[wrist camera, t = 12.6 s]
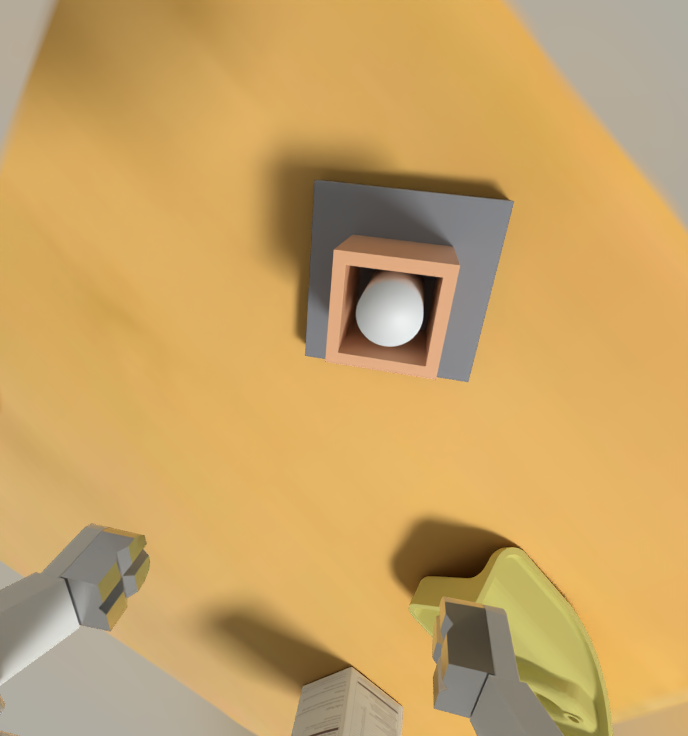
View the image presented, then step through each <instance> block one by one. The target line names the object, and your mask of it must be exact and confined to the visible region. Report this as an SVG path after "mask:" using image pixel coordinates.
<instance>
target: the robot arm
mask: <svg viewBox="0 0 688 736" xmlns="http://www.w3.org/2000/svg"><path fill="white" fill-rule="evenodd" d="M146 544H147V543H146V539H145V535H141V534H136V533H132V532H127V531H123V530H119V529H114V528H110V527H106V526H101V525H96V524H90V525H88V526H86V527H85V528H84V529H83V530H82V531H81V532H80V533H79V534H78V535H77V536H76V537H75V538H74V539H73V540H72V541H71V542H70V543H69V544H68V545H67V546H66V547H65V549H64V550H63V551H62V552H61V553H60V554H59V555H58V556H57V557H56V558H55V559H54V560H53V561H52V562H51V563H50V564H49V565H48V566H47V567H46V568H45V569H44V570H43V572H42V573H37V572H35V573H33V574H31V575H29V576H27V577H25V578H23V579H21V580H20V581H17V582H15V583H14V584H11V585H10V586H7V587H5V588H4V589H2V590H0V685H1V684H3V683H4V682H6V681H7V680H8V679H10V678H11V677H12V676H14V675H15V674H17V673H18V672H19V671H20V670H22V669H23V668H25V667H26V666H28V665H29V664H30V663H32V662H33V661H34V660H36V659H37V658H39V657H40V656H41V655H43V654H44V653H45V652H47V651H48V650H50V649H51V648H52V647H53V646H55V645H56V644H58V643H59V642H60V641H62V640H63V639H64V638H66V637H67V636H69V635H70V634H72V633H73V632H74V631H76V630H77V629H78V628H80V625H82V626H87V627H92V628H97V629H102V630H106V631H111V630H112V629H113V627H114V626H115V624H116V623H117V621H118V620H119V618H120V617H121V615H122V614H123V613H124V611H125V610H126V608H127V598H128V597H130V596H131V595H133V594H134V593H136V592H138V590H139V589H140V587H141V586H142V584H143V583H144V581H145V579H146V576H147V573H148V571H149V564H150V560H149V555H148V554H147V553H146V552H145V551H144V549H143V548H144V547H145V545H146ZM439 607H440V615H438V616H436V620H435V624H434V630H433V642H432V657H433V659H434V661H435V663H436V664H437V665H436V669H435V672H434V675H433V695H434V709H438V710H441V711H445V712H449V713H453V714H456V715H460V716H464V717H467V718H471V719H470V722H471V724H472V726H473V728H474V730H475V732H476V734H477V736H564V735H563V733H562V732H561V731H560V729H559V728H558V726H557V725H556V724H555V722H554V721H553V719H552V718H551V716H550V715H549V714H548V712H547V711H546V709H545V708H544V707H543V705H542V704H541V702H540V701H539V700H538V698H537V697H536V695H535V694H534V693H533V691H532V690H531V688H530V687H529V686H528V684H527V683H525V682H521V681H520V678H519V673H518V668H517V663H516V658H515V653H514V648H513V643H512V637H511V632H510V627H509V622H508V617H507V613H506V612H505V610H504V609H503V608H498V607H493V606H487V605H482V604H481V603H476V602H470V601H465V600H460V599H455V598H449V597H444V596H443V597H442V599H441V602H440V605H439ZM4 706H5V703H4V701H3V699H2V697H1V695H0V715H1V714H2V712H3V711H4ZM0 736H18V735H14V734H11V733H7V732H3V731H0Z"/></svg>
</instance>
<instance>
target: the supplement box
mask: <svg viewBox="0 0 688 736" xmlns="http://www.w3.org/2000/svg"><path fill="white" fill-rule="evenodd" d="M402 719H403V707H402V706H401V705H400V704H398V703H397V702H396V701H395V700H393V699H392V698H391V697H390V696H388V695H387V694H386V693H385V692H383V691H382V690H381V689H380V688H378V687H377V686H376V685H374V684H373V683H372V682H371V681H369V680H368V679H367V678H366V677H364V676H363V675H362V674H360V673H359V672H358V671H357V670H355V669H354V668H353V667H349V668H347V669H345V670H342V671H340V672H337V673H335V674H332V675H330V676H327V677H325V678H322V679H319V680H317V681H315V682H312V683H309V684H307V685H304V686H303V687H302V691H301V696H300V700H299V704H298V709H297V713H296V717H295V722H294V726H293V730H292V734H291V736H402Z"/></svg>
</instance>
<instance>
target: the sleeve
mask: <svg viewBox="0 0 688 736" xmlns="http://www.w3.org/2000/svg"><path fill="white" fill-rule="evenodd" d="M360 267H366V268H373V269H381V270H389V271H396V272H404V273H412V274H419V275H427V276H435V277H436V281H435V286H434V292H433V297H432V302H431V308H430V313H429V318H428V323H427V329H426V330H421V329H419V331H418V333H417V334H416V335H415V336H414V337H413V338H412V339H411V340H410V341H408V342H406V343H404V344H402V345H399V346H392V347H388V346H381V345H378V344H376V343H374V342H372V341H370V340H369V339H368V338H367V337H365V335H364V334H363V333H362V332H361V330H360V328H359V326H358V324H357V320H355V312H356V302H357V293H358V284H359V274H360ZM459 269H460V263H459V261H458V258H457V255H456V252H455V249H454V247H453V246H444V245H436V244H428V243H420V242H411V241H403V240H395V239H386V238H378V237H370V236H361V235H352V236H350V237H349V238H348V239H346V240H345V241H344V242H343V243H341V244H340V245H339V246H338V247H336V248H335V249H334V254H333V267H332V280H331V293H330V306H329V319H328V332H327V345H326V358H325V362H330V363H336V364H342V365H348V366H354V367H361V368H367V369H373V370H379V371H385V372H392V373H398V374H404V375H410V376H416V377H423V378H429V379H435V380H436V377H437V373H438V368H439V363H440V359H441V354H442V349H443V344H444V340H445V335H446V330H447V325H448V321H449V316H450V311H451V307H452V302H453V297H454V292H455V288H456V283H457V278H458V273H459Z"/></svg>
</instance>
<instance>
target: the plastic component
mask: <svg viewBox="0 0 688 736" xmlns="http://www.w3.org/2000/svg"><path fill="white" fill-rule="evenodd" d="M443 596H444V597H449V598H455V599H460V600H465V601H470V602H476V603H481V604H482V605H487V606H493V607H498V608H503V609H504V610H505V612H506V613H507V617H508V622H509V627H510V632H511V637H512V643H513V648H514V653H515V658H516V663H517V668H518V673H519V678H520V681H521V682H525V683H527V684H528V686H529V687H530V688H531V690H532V691H533V693H534V694H535V695H536V697H537V698H538V700H539V701H540V702H541V704H542V705H543V707H544V708H545V709H546V711H547V712H548V714H549V715H550V716H551V718H552V719H553V721H554V722H555V724H556V725H557V726H558V728H559V729H560V731H561V732H562V733H563V735H564V736H613V730H612V719H611V711H610V705H609V699H608V694H607V689H606V685H605V681H604V677H603V673H602V669H601V666H600V663H599V659H598V657H597V654H596V651H595V649H594V646H593V643H592V641H591V639H590V637H589V635H588V633H587V631H586V629H585V627H584V625H583V623H582V622H581V620H580V618H579V617H578V615H577V614H576V612H575V611H574V609H573V608H572V606H571V605H570V604H569V603H568V602H567V601H566V599H565V598H564V597H563V596H562V595H561V594H560V592H559V591H558V590H557V589H556V588H555V587H554V585H553V584H552V583H551V582H550V581H549V580H548V579H547V577H546V576H545V575H544V574H543V573H542V572H541V570H540V569H539V568H538V567H537V566H536V565H535V564H534V562H533V561H532V560H531V559H530V558H529V557H528V555H527V554H526V553H525V552H524V551H523V550H521V549H519V548H515V547H504V548H500V549H498V550H497V551H495V552H494V553H493V554H492V555H491V557H490V558H489V560H488V562H487V564H486V566H485V568H484V569H483V571H482V572H481V573H480V574H478V575H477V576H475V577H473V578H456V577H439V576H427V577H424V578H423V579H422V580H421V581H420V583H419V585H418V588H417V590H416V592H415V594H414V596H413V598H412V601H411V603H410V605H409V611H410V613H411V615H412V616H413V617H414V618H415V619H416V620H417V621H418V623H419V624H420V625H421V626H422V627H423V628H424V629H425V630H426V631H427V632H428V633H429V634H430V635H431V636H432V637H433V630H434V624H435V620H436V616H438V615H440V607H439V605H440V602H441V599H442V597H443Z"/></svg>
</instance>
